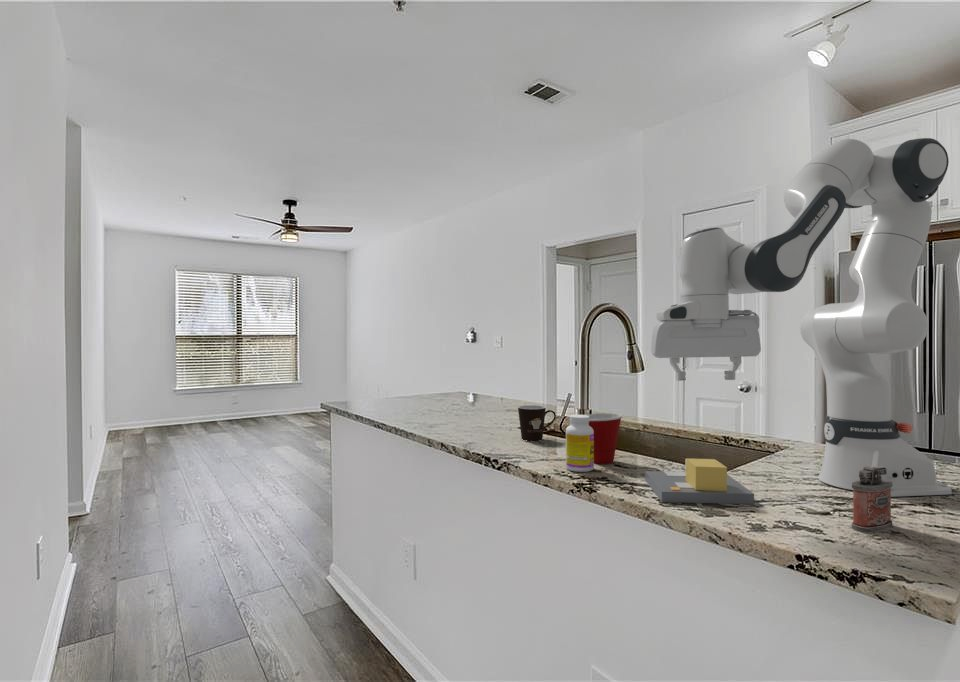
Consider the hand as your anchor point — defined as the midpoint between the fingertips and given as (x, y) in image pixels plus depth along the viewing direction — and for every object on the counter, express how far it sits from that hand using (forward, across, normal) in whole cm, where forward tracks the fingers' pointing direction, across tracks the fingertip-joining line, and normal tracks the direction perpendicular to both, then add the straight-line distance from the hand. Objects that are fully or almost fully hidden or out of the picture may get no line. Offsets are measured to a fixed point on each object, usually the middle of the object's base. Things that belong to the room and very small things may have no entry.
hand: (705, 380), depth 103 cm
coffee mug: (+23, +34, -53) cm, 67 cm away
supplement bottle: (+23, +23, -19) cm, 38 cm away
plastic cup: (+23, +17, -27) cm, 40 cm away
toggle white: (+21, 0, -8) cm, 22 cm away
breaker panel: (+23, +1, -3) cm, 23 cm away
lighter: (+24, -22, +15) cm, 35 cm away
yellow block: (+21, 0, 0) cm, 21 cm away
